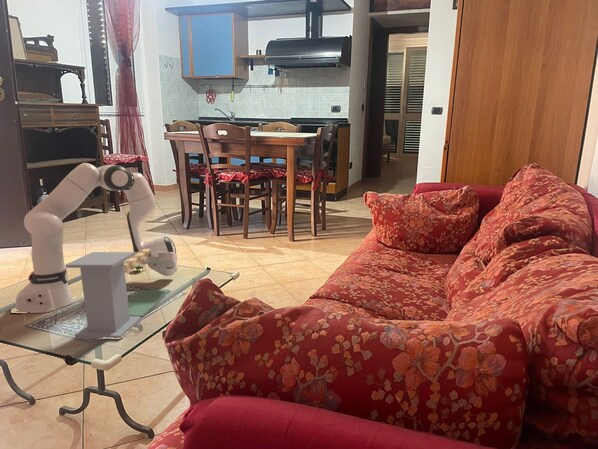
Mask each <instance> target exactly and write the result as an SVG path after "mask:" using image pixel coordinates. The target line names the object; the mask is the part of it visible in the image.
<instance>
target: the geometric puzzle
mask: <svg viewBox="0 0 598 449" xmlns="http://www.w3.org/2000/svg"><path fill="white" fill-rule="evenodd" d="M135 268H136V269H137V270H136V272H137V271H138V270H139V269H141V268H142V269H143V268H145V264H139V265H138V266H137V267H135ZM135 268H134V269H132V271H133V270H135Z"/></svg>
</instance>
